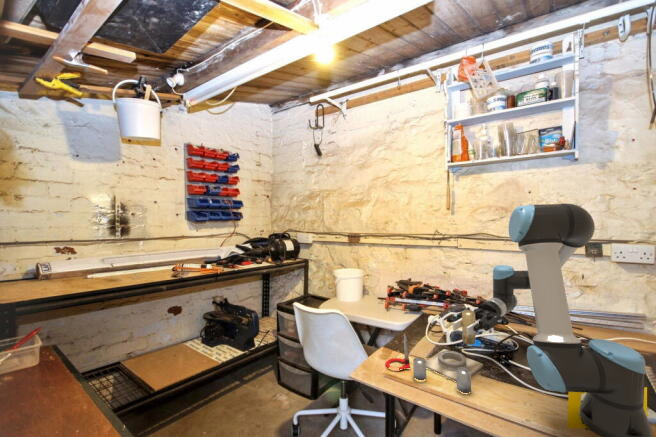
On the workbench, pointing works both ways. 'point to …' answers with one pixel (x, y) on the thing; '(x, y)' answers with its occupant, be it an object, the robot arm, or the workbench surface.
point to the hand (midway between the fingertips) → (460, 329)
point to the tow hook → (405, 360)
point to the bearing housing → (451, 364)
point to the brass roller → (467, 320)
